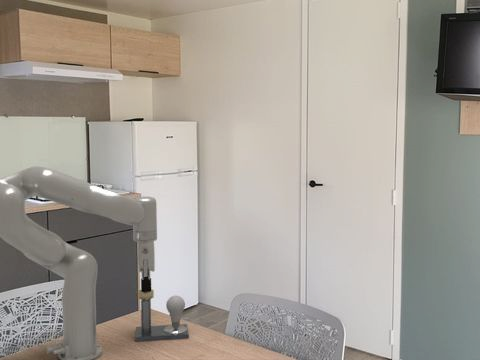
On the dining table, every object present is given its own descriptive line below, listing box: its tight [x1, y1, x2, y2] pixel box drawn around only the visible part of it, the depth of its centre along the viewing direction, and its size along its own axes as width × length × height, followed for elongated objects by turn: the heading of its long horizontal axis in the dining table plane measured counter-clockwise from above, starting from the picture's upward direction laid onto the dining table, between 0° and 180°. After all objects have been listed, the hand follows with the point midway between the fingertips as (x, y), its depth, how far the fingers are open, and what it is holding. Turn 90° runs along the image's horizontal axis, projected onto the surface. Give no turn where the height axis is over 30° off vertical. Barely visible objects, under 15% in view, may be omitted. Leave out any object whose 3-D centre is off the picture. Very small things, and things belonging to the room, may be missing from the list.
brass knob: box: [137, 288, 155, 301], centre depth 173 cm, size 5×5×6 cm
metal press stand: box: [134, 299, 190, 343], centre depth 174 cm, size 17×9×12 cm, turn 99°
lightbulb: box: [166, 295, 186, 329], centre depth 175 cm, size 6×6×11 cm
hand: (146, 290), depth 172 cm, fingers closed
